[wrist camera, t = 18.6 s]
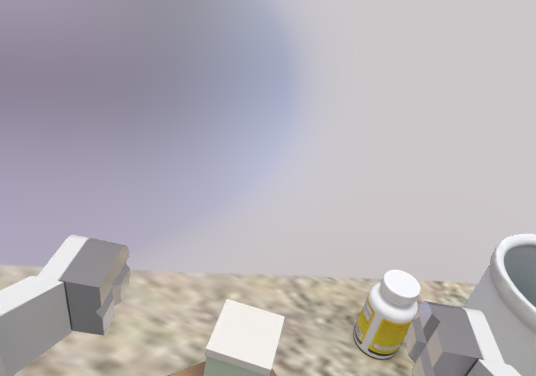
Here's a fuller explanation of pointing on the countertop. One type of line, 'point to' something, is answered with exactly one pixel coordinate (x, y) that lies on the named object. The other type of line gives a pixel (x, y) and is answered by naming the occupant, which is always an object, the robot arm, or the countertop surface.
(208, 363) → the canister
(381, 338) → the supplement bottle
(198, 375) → the walnut block
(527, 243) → the utensil holder
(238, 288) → the countertop surface
